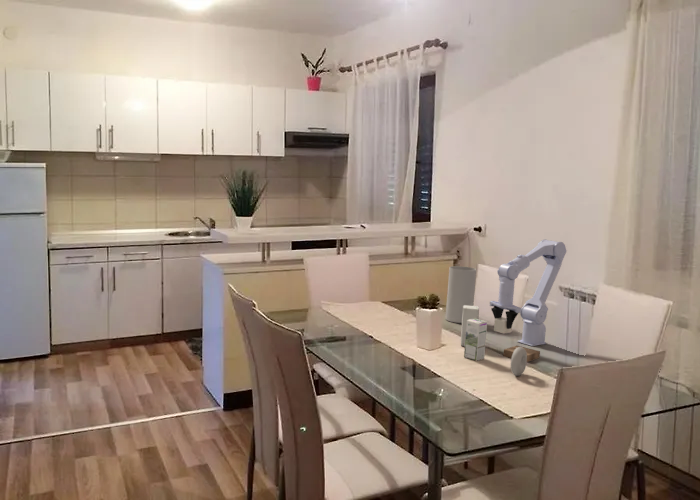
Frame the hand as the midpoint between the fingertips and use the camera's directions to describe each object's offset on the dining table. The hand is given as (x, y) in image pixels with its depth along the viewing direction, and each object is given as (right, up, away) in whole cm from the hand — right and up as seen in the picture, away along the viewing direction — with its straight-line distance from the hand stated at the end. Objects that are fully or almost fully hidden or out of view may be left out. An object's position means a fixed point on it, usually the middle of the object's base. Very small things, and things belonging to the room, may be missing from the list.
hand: (503, 326), depth 266 cm
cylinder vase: (-11, -3, +44) cm, 46 cm away
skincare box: (-14, -8, +1) cm, 16 cm away
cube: (0, -2, 0) cm, 2 cm away
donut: (-4, -13, -38) cm, 40 cm away
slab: (+4, -10, -13) cm, 17 cm away
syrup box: (-16, -10, -19) cm, 26 cm away
